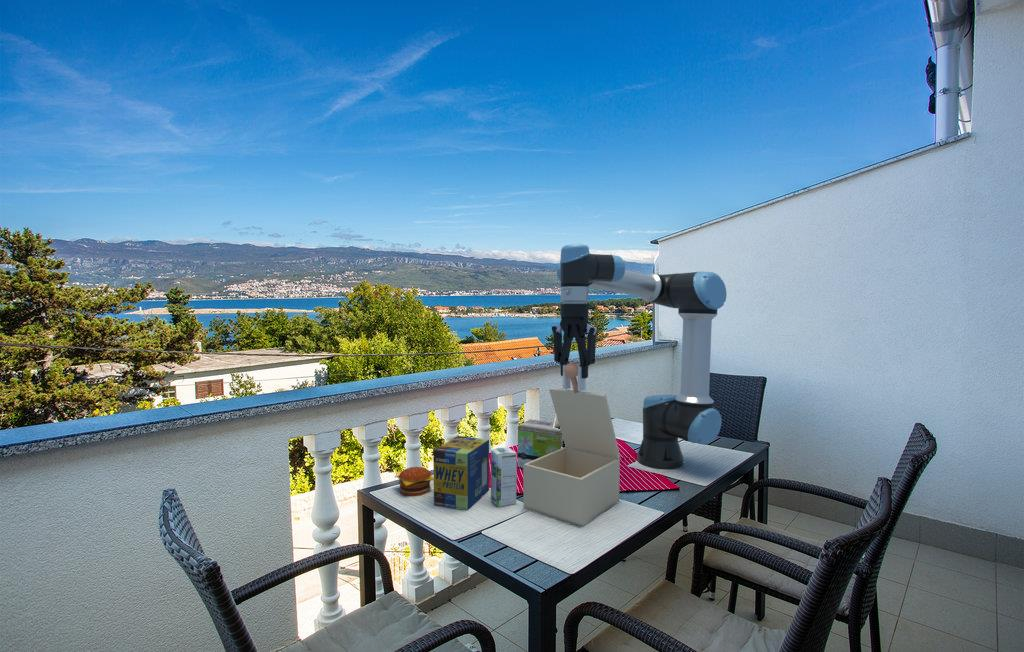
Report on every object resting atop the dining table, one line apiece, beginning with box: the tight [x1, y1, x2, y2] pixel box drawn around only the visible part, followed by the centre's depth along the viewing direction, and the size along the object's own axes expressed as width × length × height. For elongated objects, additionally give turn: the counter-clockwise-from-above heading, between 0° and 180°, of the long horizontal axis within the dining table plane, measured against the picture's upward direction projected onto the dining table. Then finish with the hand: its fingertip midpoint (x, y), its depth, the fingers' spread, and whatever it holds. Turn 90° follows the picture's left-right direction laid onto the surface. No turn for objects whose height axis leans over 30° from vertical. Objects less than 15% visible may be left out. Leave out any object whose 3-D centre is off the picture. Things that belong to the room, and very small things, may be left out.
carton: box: [522, 447, 621, 528], centre depth 133 cm, size 20×18×12 cm
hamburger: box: [395, 466, 434, 497], centre depth 145 cm, size 9×10×7 cm
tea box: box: [517, 418, 561, 469], centre depth 164 cm, size 15×10×15 cm, turn 62°
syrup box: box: [490, 446, 518, 508], centre depth 135 cm, size 6×6×14 cm
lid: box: [548, 362, 621, 459], centre depth 136 cm, size 29×18×4 cm
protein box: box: [432, 435, 490, 511], centre depth 139 cm, size 10×15×16 cm
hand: (574, 389), depth 133 cm, fingers closed on lid, 4 cm apart
